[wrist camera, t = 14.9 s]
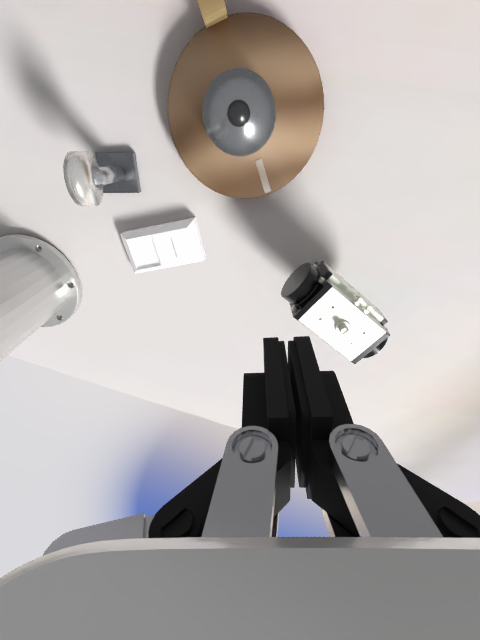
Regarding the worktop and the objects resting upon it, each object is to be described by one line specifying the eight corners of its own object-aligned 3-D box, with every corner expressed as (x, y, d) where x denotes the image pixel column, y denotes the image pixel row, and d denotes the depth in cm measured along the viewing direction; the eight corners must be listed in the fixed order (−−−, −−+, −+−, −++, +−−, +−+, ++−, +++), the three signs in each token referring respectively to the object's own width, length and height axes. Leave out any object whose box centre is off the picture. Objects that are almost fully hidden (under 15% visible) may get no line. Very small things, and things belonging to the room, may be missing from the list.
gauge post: (106, 193, 37) (56, 210, 27) (98, 150, 35) (40, 151, 25) (141, 193, 37) (102, 209, 27) (134, 150, 35) (90, 151, 25)
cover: (236, 171, 33) (234, 173, 30) (190, 112, 31) (183, 108, 28) (289, 121, 31) (293, 118, 28) (244, 53, 29) (243, 42, 26)
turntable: (336, 167, 34) (345, 169, 30) (205, 216, 37) (200, 223, 33) (293, -44, 27) (299, -74, 23) (134, 37, 29) (118, 23, 26)
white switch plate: (206, 256, 40) (203, 262, 38) (139, 268, 42) (132, 275, 39) (196, 216, 38) (192, 221, 36) (125, 230, 39) (117, 236, 37)
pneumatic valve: (339, 322, 44) (367, 378, 33) (275, 270, 41) (283, 314, 30) (371, 293, 42) (411, 343, 31) (306, 236, 38) (326, 270, 28)
